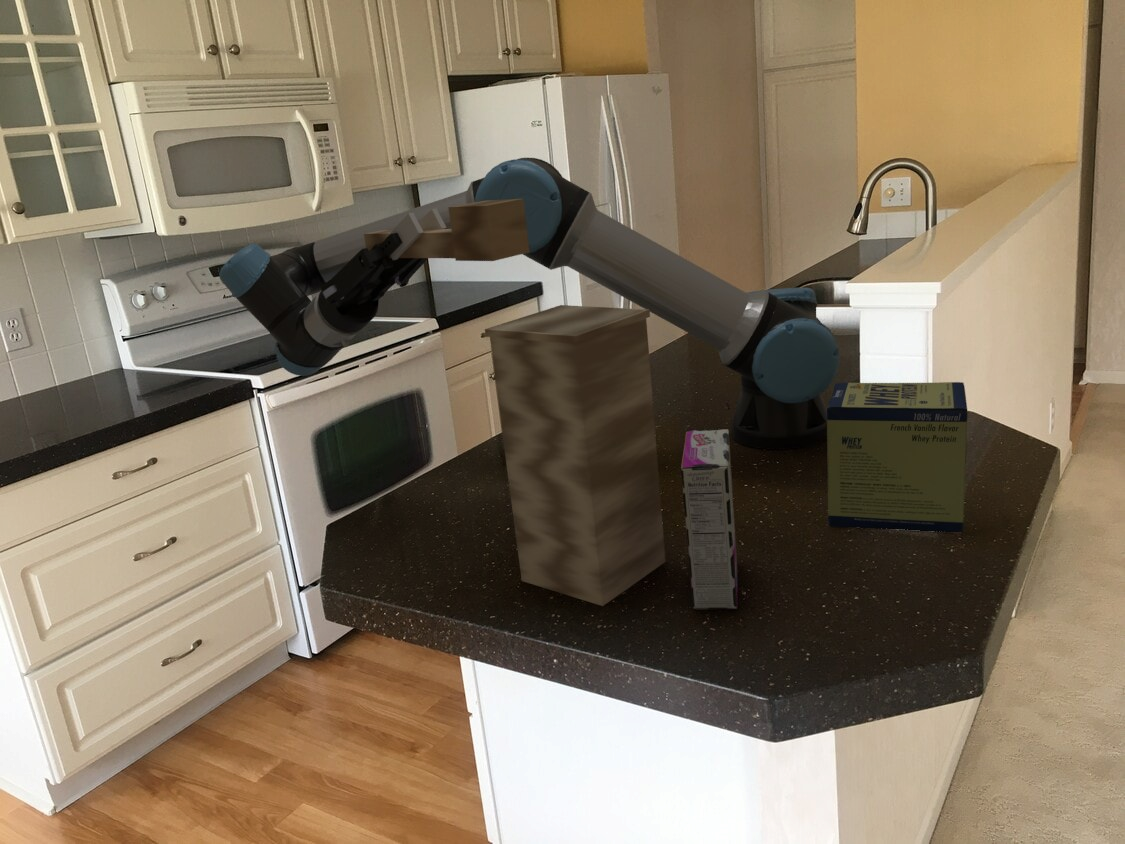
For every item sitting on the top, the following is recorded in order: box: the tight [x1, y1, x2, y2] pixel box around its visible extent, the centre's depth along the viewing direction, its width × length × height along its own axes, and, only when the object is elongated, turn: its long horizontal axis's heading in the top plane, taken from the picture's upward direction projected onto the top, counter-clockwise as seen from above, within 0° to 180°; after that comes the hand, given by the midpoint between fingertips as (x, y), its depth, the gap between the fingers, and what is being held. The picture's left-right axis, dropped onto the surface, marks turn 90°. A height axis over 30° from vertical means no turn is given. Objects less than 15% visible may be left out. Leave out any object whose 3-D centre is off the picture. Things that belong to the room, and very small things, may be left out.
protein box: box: [826, 381, 968, 533], centre depth 113 cm, size 10×16×16 cm
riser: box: [484, 304, 666, 607], centre depth 104 cm, size 13×13×30 cm
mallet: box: [364, 199, 529, 262], centre depth 111 cm, size 24×6×6 cm, turn 50°
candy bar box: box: [680, 429, 738, 611], centre depth 100 cm, size 11×5×16 cm, turn 170°
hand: (427, 220), depth 112 cm, fingers closed on mallet, 3 cm apart
